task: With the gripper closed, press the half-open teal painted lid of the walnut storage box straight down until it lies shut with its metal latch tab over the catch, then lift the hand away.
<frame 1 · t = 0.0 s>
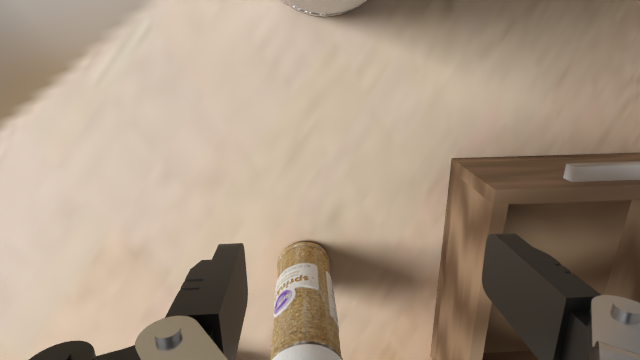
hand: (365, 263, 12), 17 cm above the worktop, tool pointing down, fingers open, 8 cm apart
sprinkles bottle: (303, 261, 32), on the worktop
storage box: (528, 263, 33), on the worktop
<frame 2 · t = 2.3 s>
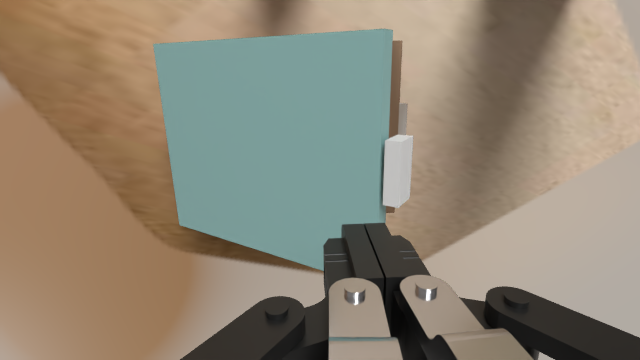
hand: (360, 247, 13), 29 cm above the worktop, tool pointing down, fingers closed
lid: (268, 152, 28), point 13 cm above the worktop, hinge at 35.0°
storage box: (291, 123, 40), on the worktop
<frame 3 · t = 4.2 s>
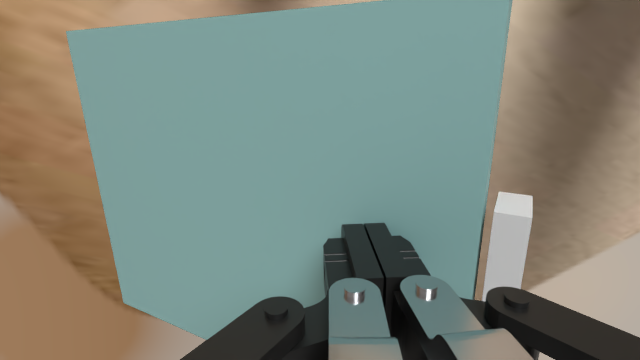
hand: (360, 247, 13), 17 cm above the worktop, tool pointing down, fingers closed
lid: (258, 208, 17), point 13 cm above the worktop, hinge at 31.4°, touching gripper
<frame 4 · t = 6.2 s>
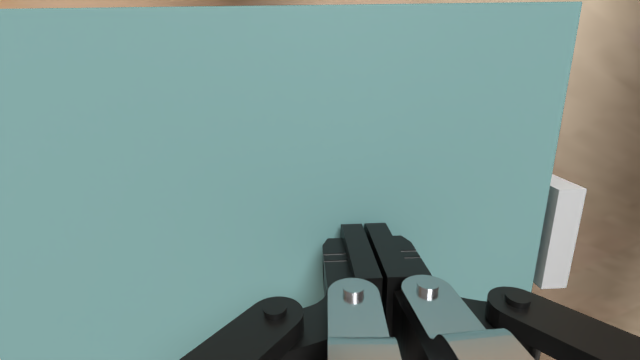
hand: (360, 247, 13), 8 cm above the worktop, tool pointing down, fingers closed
lid: (285, 241, 14), point 7 cm above the worktop, hinge at -0.3°, touching gripper, storage box
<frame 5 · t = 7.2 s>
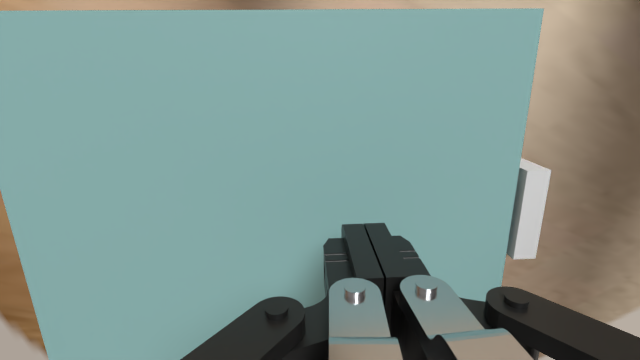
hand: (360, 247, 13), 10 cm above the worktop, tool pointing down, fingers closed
lid: (289, 216, 16), point 7 cm above the worktop, hinge at -0.3°, touching storage box
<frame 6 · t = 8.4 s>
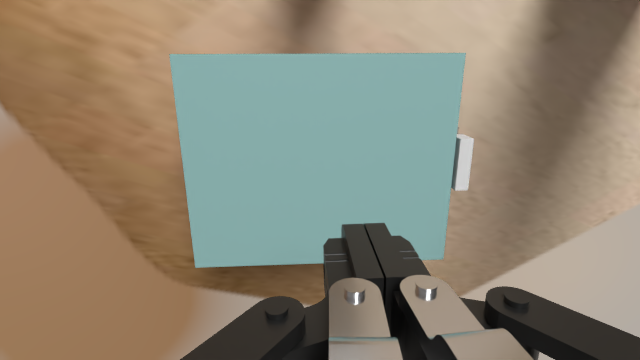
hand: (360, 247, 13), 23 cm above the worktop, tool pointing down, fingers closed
lid: (328, 164, 28), point 7 cm above the worktop, hinge at -0.3°, touching storage box
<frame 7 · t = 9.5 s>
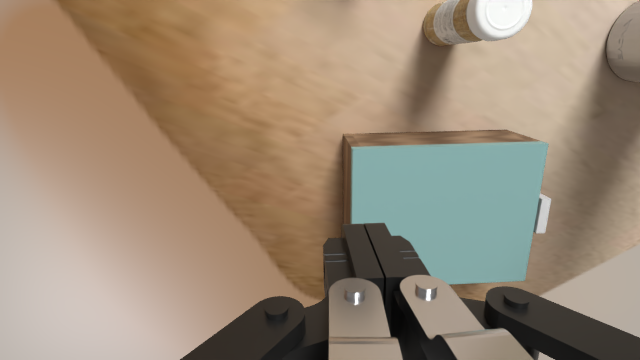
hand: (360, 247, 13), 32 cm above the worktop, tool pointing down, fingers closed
sprinkles bottle: (441, 25, 41), on the worktop
lid: (447, 216, 40), point 7 cm above the worktop, hinge at -0.3°, touching storage box
storage box: (421, 194, 47), on the worktop
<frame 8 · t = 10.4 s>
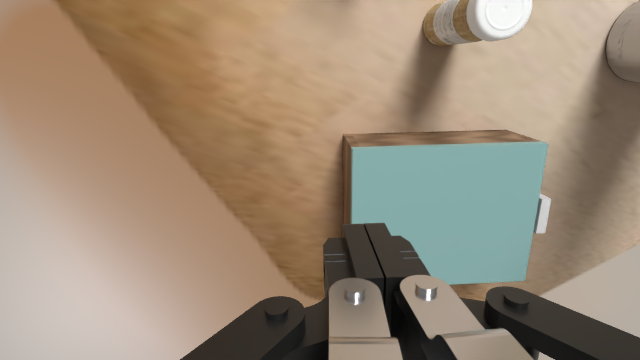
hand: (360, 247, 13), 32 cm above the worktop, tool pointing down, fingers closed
sprinkles bottle: (441, 25, 41), on the worktop
lid: (447, 216, 40), point 7 cm above the worktop, hinge at -0.3°, touching storage box
storage box: (421, 194, 47), on the worktop
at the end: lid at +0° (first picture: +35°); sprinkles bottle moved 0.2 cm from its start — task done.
